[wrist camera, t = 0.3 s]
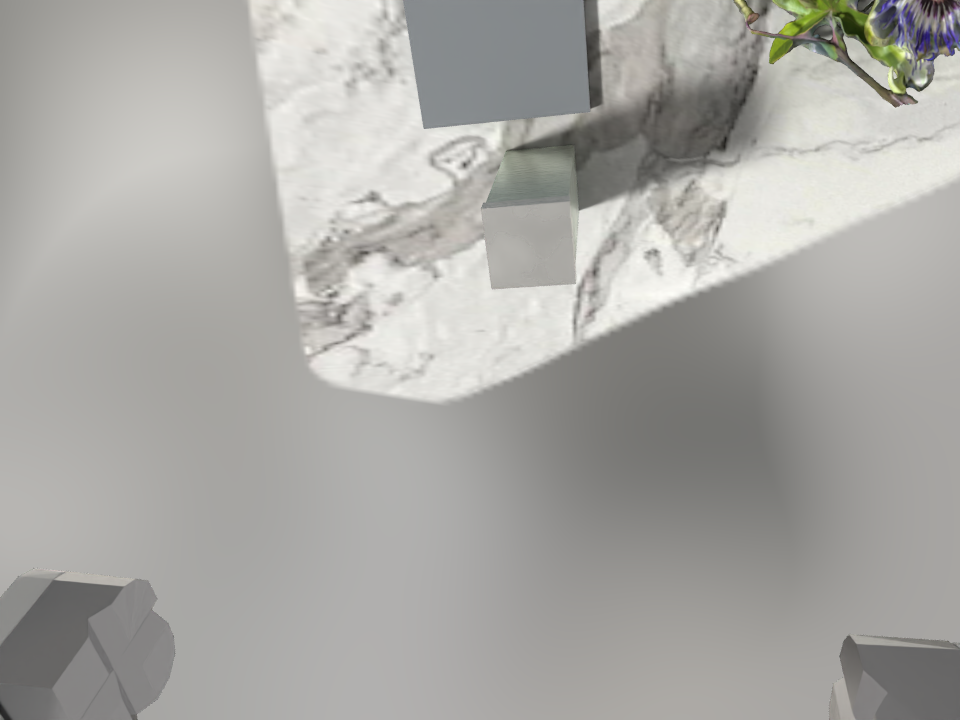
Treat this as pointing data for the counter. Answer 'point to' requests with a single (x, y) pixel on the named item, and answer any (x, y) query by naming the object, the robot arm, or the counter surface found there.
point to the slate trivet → (498, 59)
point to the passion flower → (872, 36)
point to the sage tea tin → (533, 219)
